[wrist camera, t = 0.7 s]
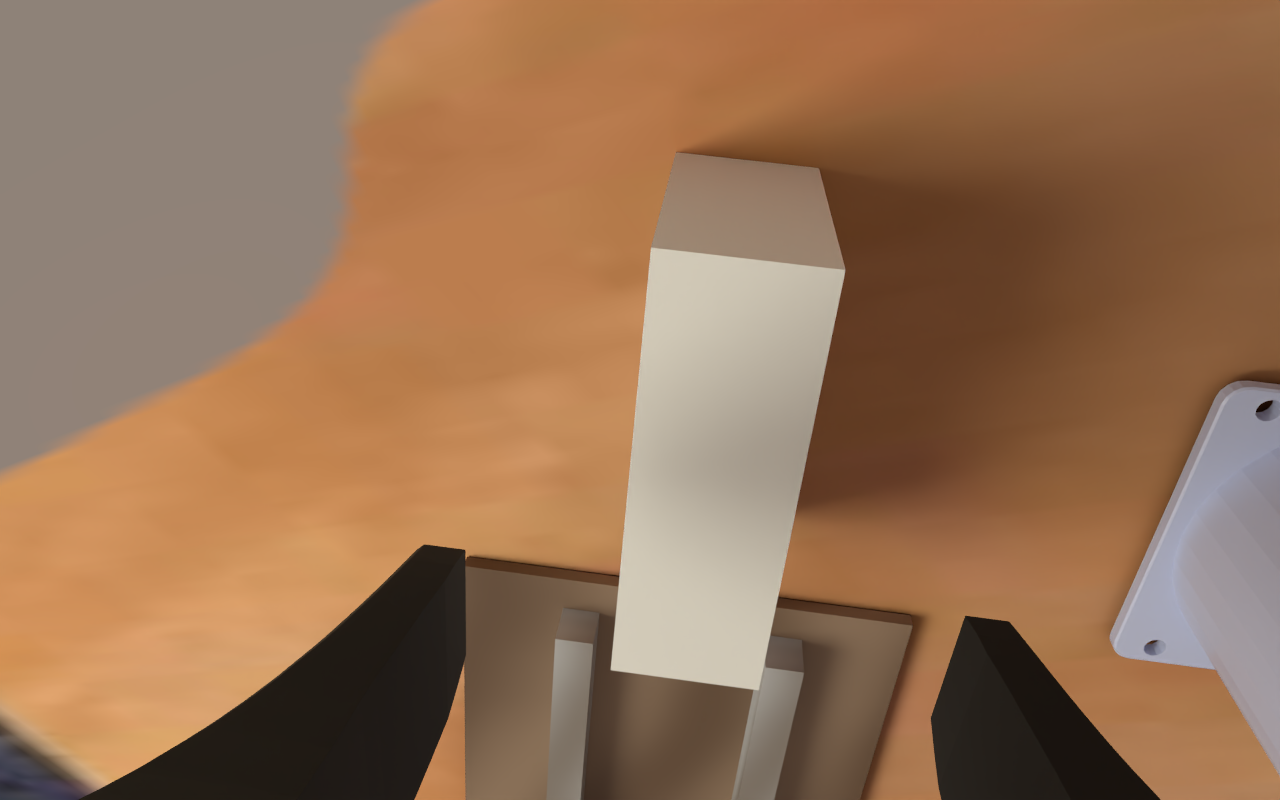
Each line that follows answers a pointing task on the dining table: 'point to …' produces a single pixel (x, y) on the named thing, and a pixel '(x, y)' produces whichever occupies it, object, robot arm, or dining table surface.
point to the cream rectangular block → (723, 414)
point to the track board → (663, 700)
